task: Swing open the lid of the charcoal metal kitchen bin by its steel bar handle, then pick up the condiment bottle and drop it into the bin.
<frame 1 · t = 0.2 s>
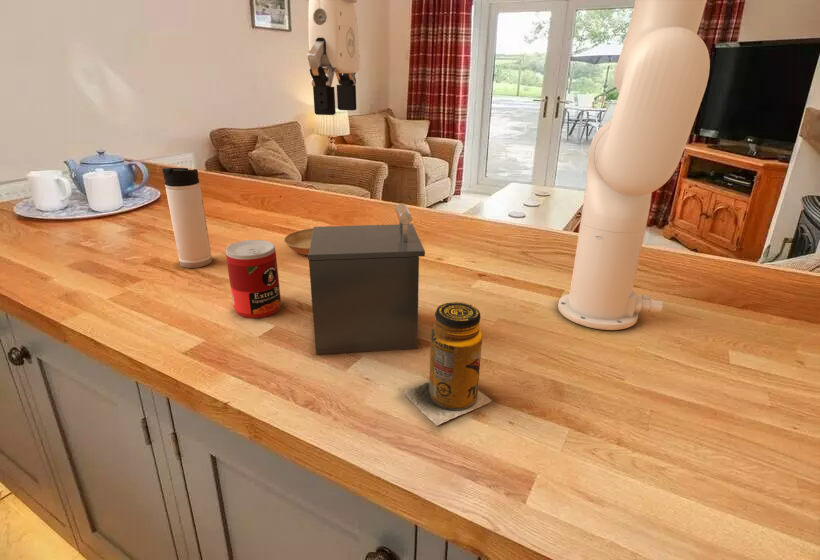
hand: (336, 112, 79), 31 cm above the counter, tool pointing down, fingers open, 9 cm apart
bin: (365, 330, 76), on the counter
condiment: (446, 399, 61), on the counter
canned food: (258, 309, 83), on the counter
travel mug: (195, 264, 102), on the counter
plant saucer: (318, 249, 111), on the counter
lid: (365, 226, 70), point 17 cm above the counter, hinge at 0.0°
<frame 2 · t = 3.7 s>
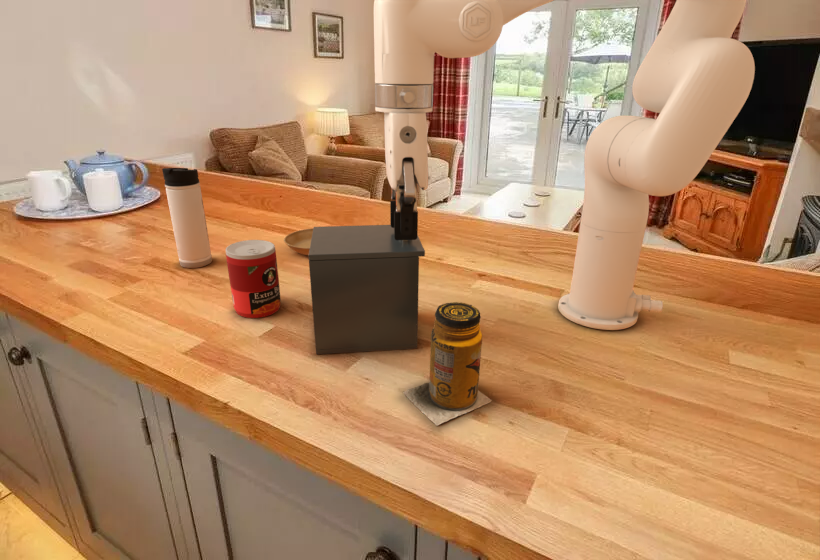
hand: (403, 231, 71), 16 cm above the counter, tool pointing down, fingers closed on lid, 5 cm apart
lid: (365, 226, 70), point 17 cm above the counter, hinge at 0.0°, touching gripper
everything else where it was.
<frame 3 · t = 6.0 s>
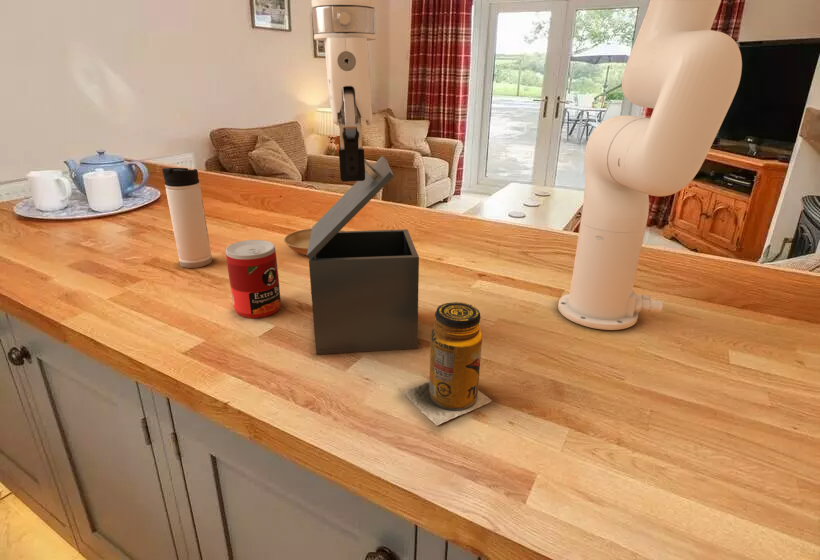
hand: (352, 174, 67), 24 cm above the counter, tool pointing down, fingers closed on lid, 5 cm apart
lid: (337, 193, 68), point 22 cm above the counter, hinge at 44.3°, touching gripper
everything else where it was.
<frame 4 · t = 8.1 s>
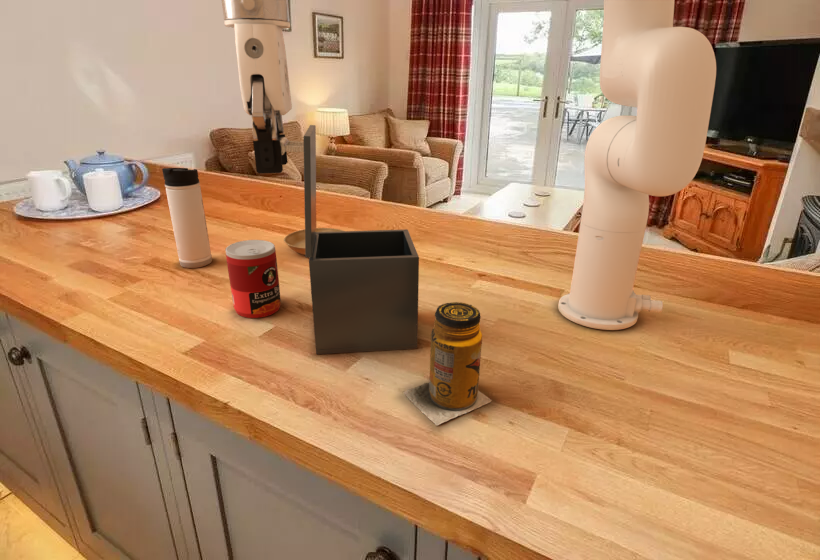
hand: (272, 167, 65), 25 cm above the counter, tool pointing down, fingers closed on lid, 5 cm apart
lid: (294, 188, 67), point 23 cm above the counter, hinge at 86.7°, touching gripper
everything else where it was.
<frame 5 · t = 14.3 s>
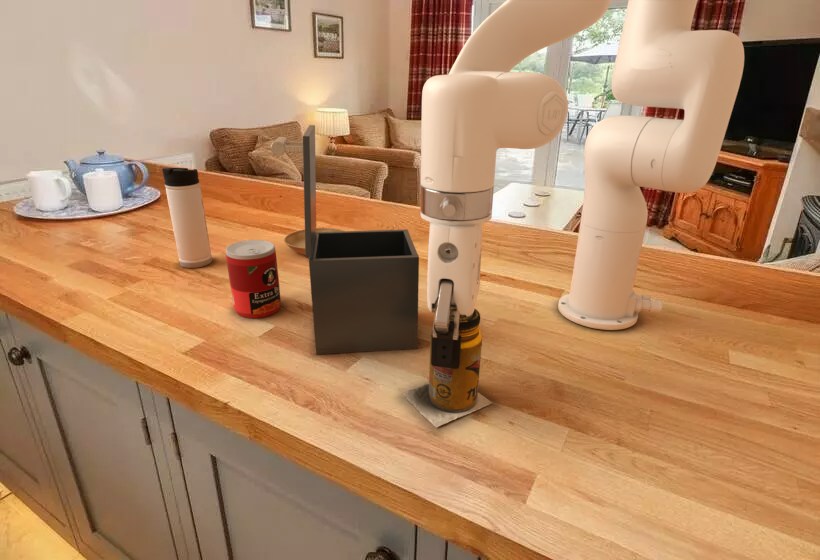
hand: (449, 349, 58), 7 cm above the counter, tool pointing down, fingers closed on condiment, 6 cm apart
condiment: (446, 401, 61), on the counter, touching gripper
lid: (294, 188, 67), point 23 cm above the counter, hinge at 87.0°
everything else where it was.
when the fingers open (21 cm above the counter, at t = 20.1 s): condiment stays where it is, resting on bin.
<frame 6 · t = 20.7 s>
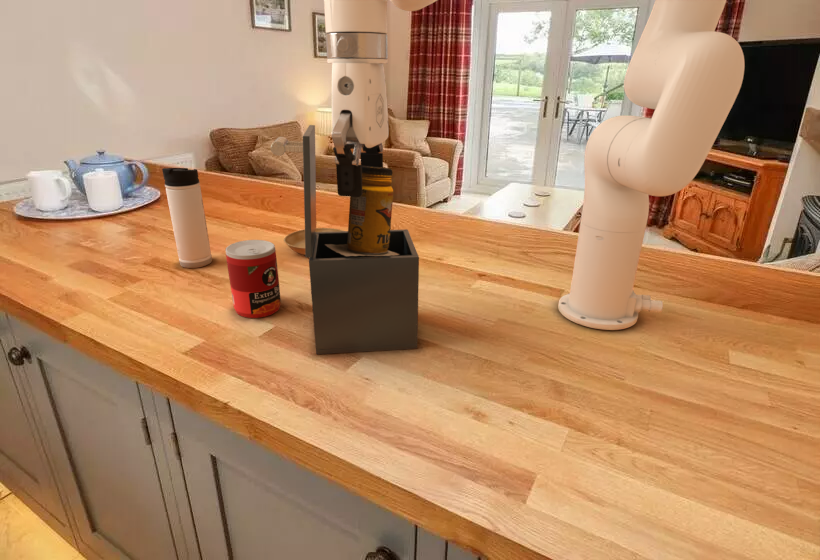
hand: (361, 187, 68), 22 cm above the counter, tool pointing down, fingers open, 9 cm apart
condiment: (361, 252, 71), point 13 cm above the counter, touching bin, gripper
everything else where it was.
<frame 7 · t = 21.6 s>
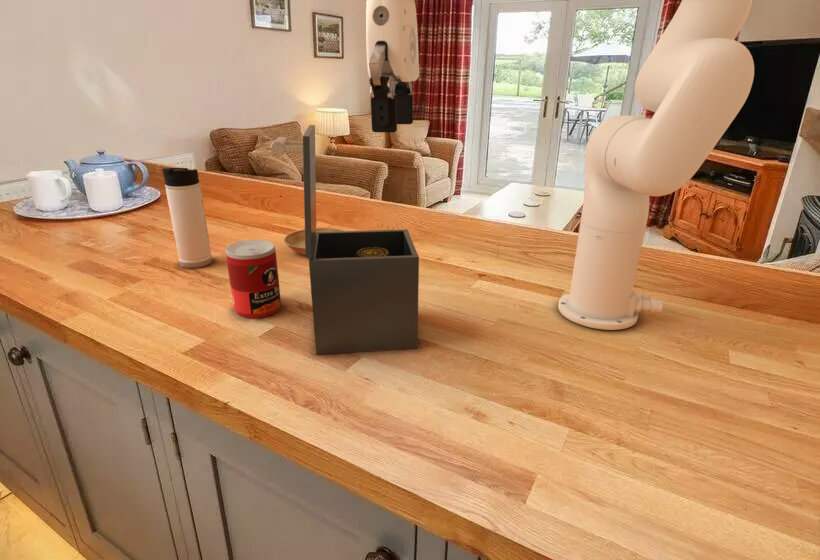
hand: (393, 127, 67), 30 cm above the counter, tool pointing down, fingers open, 9 cm apart
condiment: (368, 325, 77), point 1 cm above the counter, touching bin
everything else where it was.
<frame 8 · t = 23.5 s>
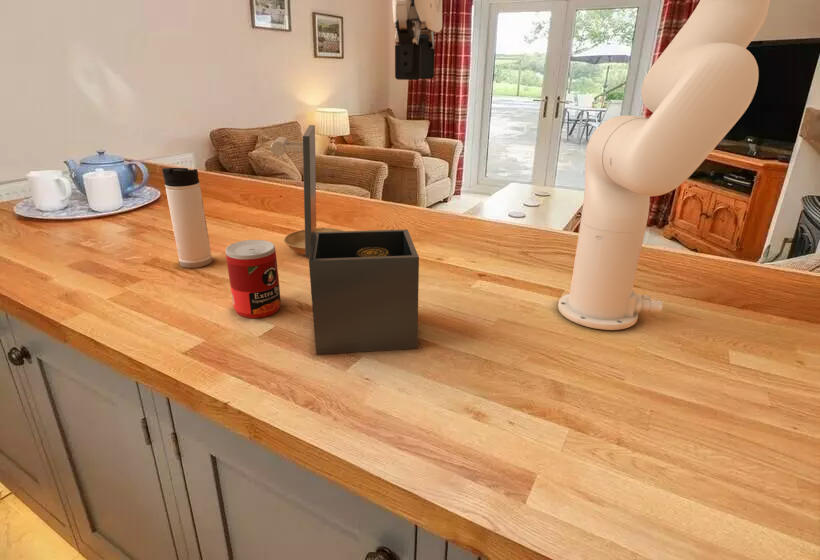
hand: (415, 79, 67), 36 cm above the counter, tool pointing down, fingers open, 9 cm apart
nothing on the counter moved.
at the end: lid at +87° (first picture: +0°); condiment inside the target area in the bin (0.7 cm from its centre), point 0.6 cm above the bin's base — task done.
